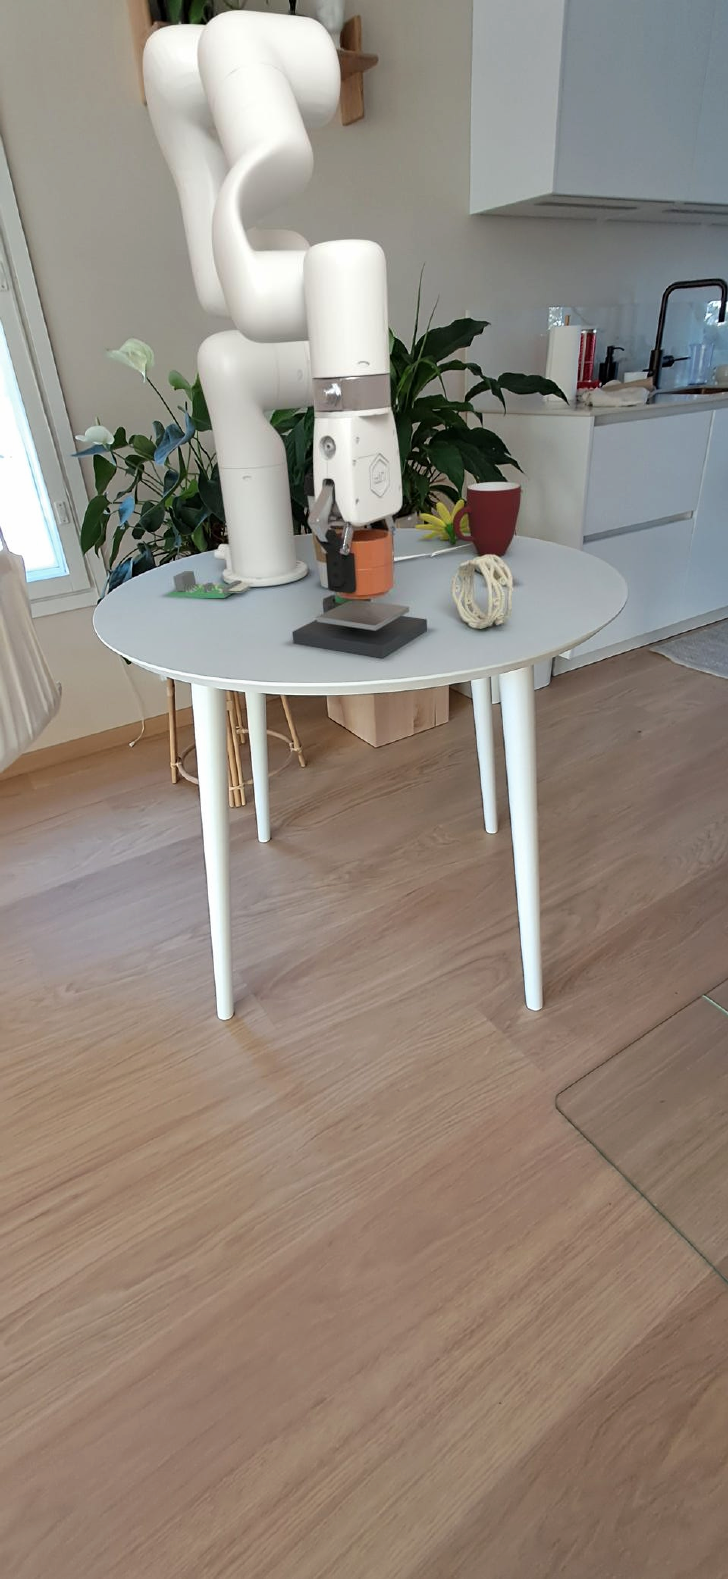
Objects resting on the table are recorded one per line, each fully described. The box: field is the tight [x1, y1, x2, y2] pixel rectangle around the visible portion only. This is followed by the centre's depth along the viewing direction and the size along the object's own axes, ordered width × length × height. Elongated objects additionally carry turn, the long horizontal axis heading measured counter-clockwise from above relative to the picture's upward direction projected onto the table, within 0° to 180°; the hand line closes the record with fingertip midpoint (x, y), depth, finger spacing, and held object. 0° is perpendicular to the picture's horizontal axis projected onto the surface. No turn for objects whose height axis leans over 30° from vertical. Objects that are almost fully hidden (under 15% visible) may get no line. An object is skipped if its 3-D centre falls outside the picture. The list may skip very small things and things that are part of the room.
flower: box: [414, 499, 470, 546], centre depth 125 cm, size 4×12×12 cm
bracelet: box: [450, 555, 515, 630], centre depth 87 cm, size 4×8×8 cm, turn 31°
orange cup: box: [334, 528, 395, 599], centre depth 81 cm, size 7×7×6 cm
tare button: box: [334, 592, 359, 604], centre depth 90 cm, size 3×3×2 cm
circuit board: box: [167, 570, 254, 599], centre depth 107 cm, size 12×3×5 cm
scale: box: [292, 594, 428, 659], centre depth 88 cm, size 13×11×3 cm
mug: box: [453, 481, 522, 558], centre depth 116 cm, size 11×8×10 cm
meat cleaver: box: [474, 566, 515, 587], centre depth 107 cm, size 12×1×5 cm
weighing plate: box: [316, 599, 410, 631], centre depth 84 cm, size 8×7×1 cm
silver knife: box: [394, 542, 474, 563], centre depth 119 cm, size 4×1×19 cm
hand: (362, 581), depth 82 cm, fingers closed on orange cup, 7 cm apart
